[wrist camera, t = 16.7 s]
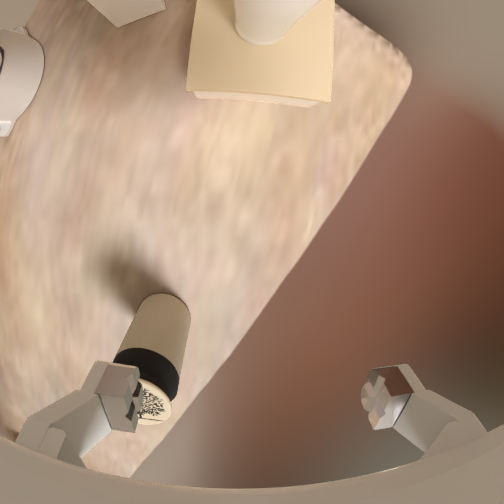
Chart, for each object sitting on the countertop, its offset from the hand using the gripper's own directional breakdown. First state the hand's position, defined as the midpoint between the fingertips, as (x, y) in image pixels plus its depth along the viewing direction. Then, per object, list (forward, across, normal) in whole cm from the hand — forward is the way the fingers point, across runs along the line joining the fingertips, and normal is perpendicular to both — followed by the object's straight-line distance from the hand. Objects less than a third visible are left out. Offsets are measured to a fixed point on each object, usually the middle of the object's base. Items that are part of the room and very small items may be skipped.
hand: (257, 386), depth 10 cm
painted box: (+31, -1, -20) cm, 37 cm away
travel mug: (+31, +10, +17) cm, 37 cm away
